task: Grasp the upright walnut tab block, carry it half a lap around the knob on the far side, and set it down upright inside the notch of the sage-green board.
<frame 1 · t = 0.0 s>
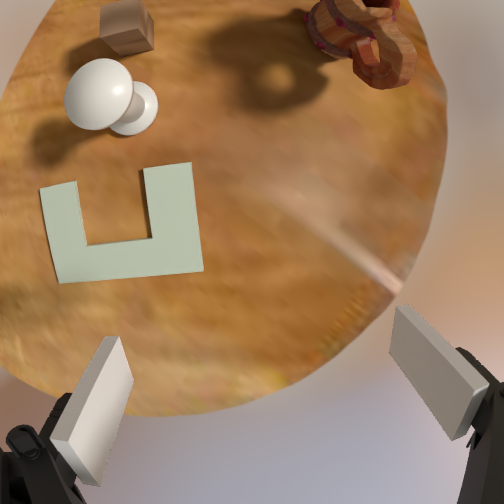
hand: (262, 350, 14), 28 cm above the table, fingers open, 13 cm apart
tab block: (137, 38, 32), on the table
knob: (132, 108, 35), on the table
notched board: (114, 211, 39), on the table
mug: (337, 51, 35), on the table
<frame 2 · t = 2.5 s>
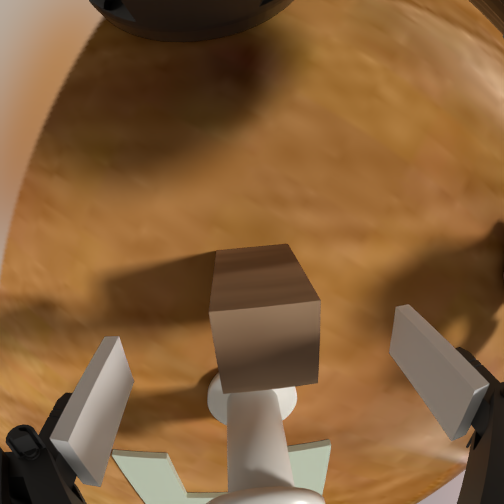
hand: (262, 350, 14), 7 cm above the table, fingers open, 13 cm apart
tab block: (254, 280, 21), on the table
knob: (251, 394, 24), on the table
notched board: (224, 476, 28), on the table
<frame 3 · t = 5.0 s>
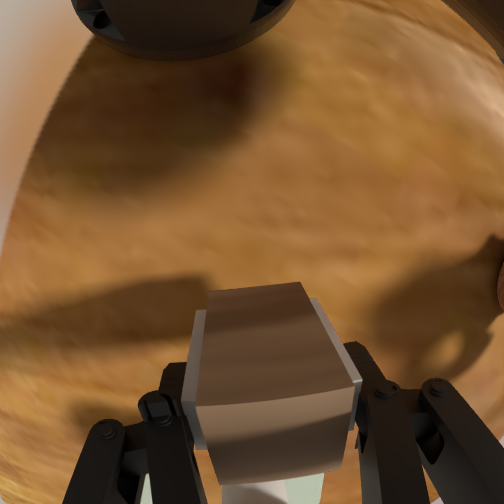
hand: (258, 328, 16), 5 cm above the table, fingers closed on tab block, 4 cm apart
tab block: (258, 326, 16), point 4 cm above the table, touching gripper
knob: (245, 412, 23), on the table
notched board: (219, 492, 27), on the table
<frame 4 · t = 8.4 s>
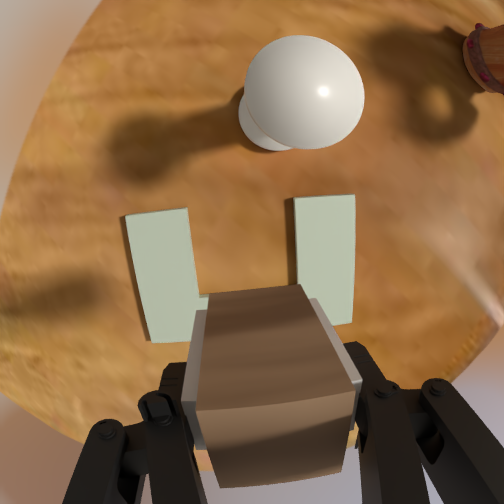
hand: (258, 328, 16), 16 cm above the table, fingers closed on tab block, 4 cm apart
tab block: (258, 328, 16), point 16 cm above the table, touching gripper
knob: (276, 114, 28), on the table
notched board: (244, 252, 31), on the table
mug: (482, 82, 27), on the table
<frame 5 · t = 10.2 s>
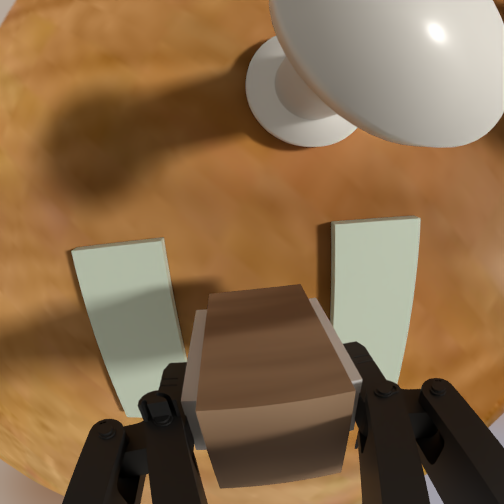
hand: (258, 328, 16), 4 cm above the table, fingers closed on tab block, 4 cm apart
tab block: (258, 328, 16), point 4 cm above the table, touching gripper
knob: (306, 88, 16), on the table
notched board: (254, 305, 20), on the table
when the fingers open (1 cm above the table, at t = 11.6 s): tab block stays where it is, on the table.
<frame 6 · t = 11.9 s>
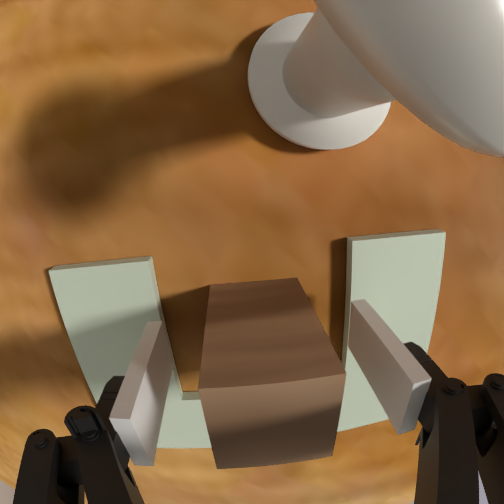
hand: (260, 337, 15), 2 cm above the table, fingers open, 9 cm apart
tab block: (256, 319, 17), on the table
knob: (319, 81, 14), on the table
notched board: (257, 332, 17), on the table
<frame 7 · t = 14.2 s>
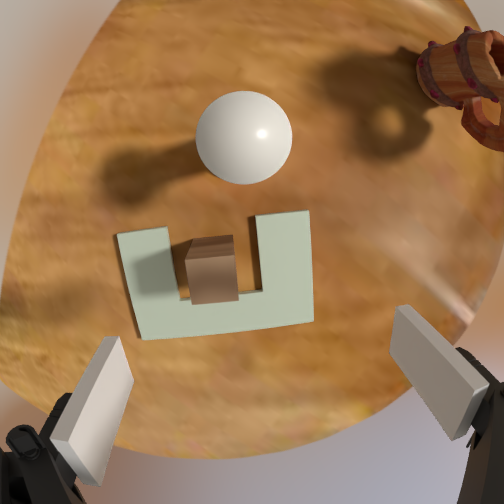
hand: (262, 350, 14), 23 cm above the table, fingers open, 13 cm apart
tab block: (215, 255, 37), on the table
knob: (238, 144, 34), on the table
notched board: (216, 262, 37), on the table
mug: (438, 96, 33), on the table
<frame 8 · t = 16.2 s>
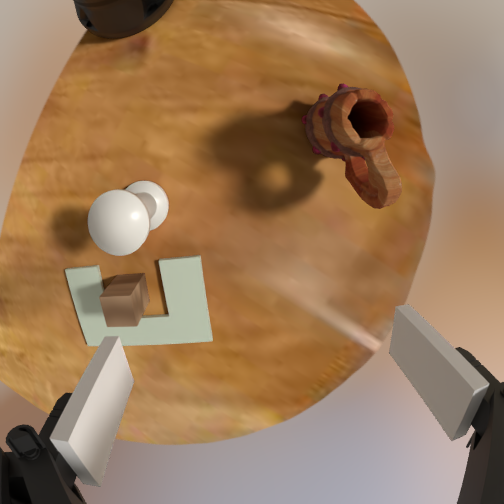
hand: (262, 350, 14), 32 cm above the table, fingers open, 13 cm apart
tab block: (133, 287, 46), on the table
knob: (144, 205, 43), on the table
notched board: (134, 292, 47), on the table
mug: (333, 145, 42), on the table
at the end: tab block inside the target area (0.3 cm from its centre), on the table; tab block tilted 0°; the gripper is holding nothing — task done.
